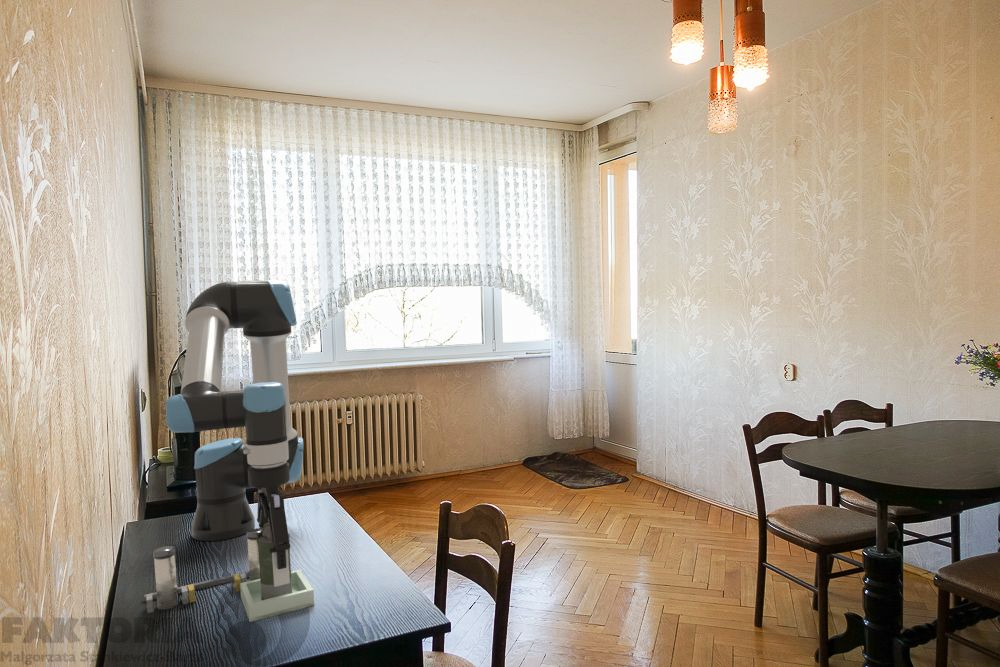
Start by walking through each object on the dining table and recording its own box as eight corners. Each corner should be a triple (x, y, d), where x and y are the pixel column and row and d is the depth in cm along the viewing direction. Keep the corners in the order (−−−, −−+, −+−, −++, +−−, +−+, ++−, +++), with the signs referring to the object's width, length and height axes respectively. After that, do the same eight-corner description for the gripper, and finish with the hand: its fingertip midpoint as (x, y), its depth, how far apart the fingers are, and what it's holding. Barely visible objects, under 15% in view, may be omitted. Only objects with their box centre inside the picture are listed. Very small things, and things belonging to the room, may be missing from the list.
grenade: (300, 595, 127) (295, 520, 126) (275, 608, 122) (270, 530, 121) (277, 589, 130) (273, 515, 129) (252, 602, 125) (247, 525, 124)
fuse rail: (144, 599, 129) (140, 545, 129) (274, 569, 142) (271, 520, 141) (144, 614, 123) (140, 557, 122) (281, 581, 135) (278, 529, 135)
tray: (241, 598, 128) (240, 583, 128) (300, 583, 134) (300, 569, 134) (249, 622, 118) (248, 606, 118) (314, 605, 124) (313, 589, 124)
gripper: (238, 454, 134) (245, 555, 135) (258, 481, 112) (266, 601, 113) (276, 449, 137) (282, 547, 138) (302, 473, 116) (309, 590, 117)
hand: (275, 571), depth 126 cm, fingers open, 13 cm apart
